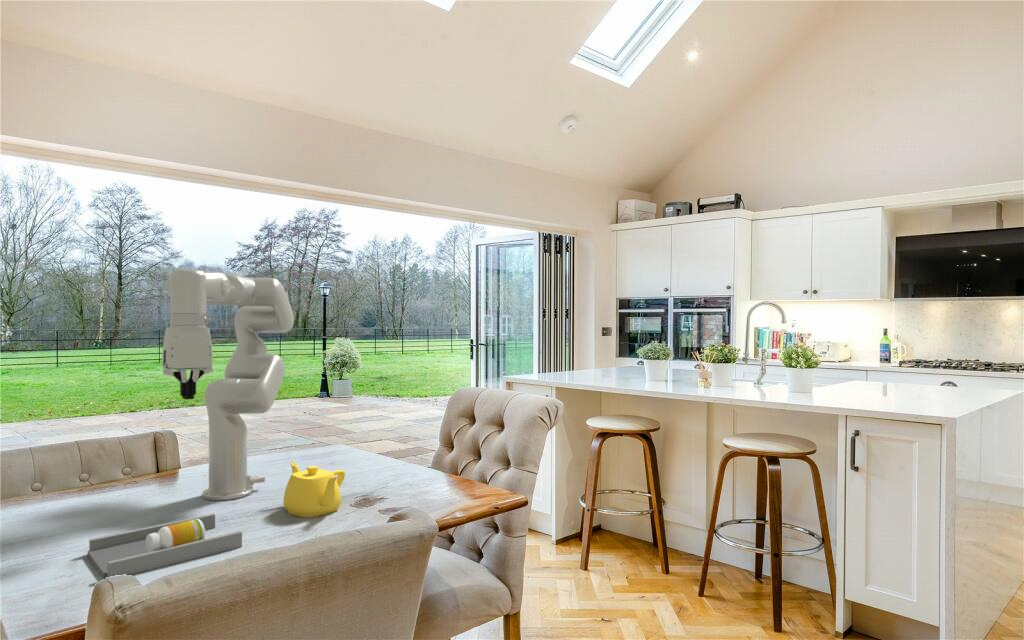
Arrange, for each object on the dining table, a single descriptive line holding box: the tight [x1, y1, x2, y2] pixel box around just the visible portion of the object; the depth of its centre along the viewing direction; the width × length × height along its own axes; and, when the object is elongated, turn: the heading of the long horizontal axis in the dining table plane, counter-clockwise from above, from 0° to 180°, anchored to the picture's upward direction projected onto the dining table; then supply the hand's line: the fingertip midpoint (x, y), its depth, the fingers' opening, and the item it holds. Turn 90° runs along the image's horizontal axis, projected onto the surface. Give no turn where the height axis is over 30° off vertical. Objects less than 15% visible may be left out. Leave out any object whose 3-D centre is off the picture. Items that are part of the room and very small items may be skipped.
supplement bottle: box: [146, 519, 206, 552], centre depth 124 cm, size 5×5×10 cm
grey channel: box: [87, 513, 243, 579], centre depth 127 cm, size 24×17×3 cm
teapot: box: [283, 461, 346, 518], centre depth 156 cm, size 22×16×11 cm
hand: (188, 398), depth 146 cm, fingers closed
